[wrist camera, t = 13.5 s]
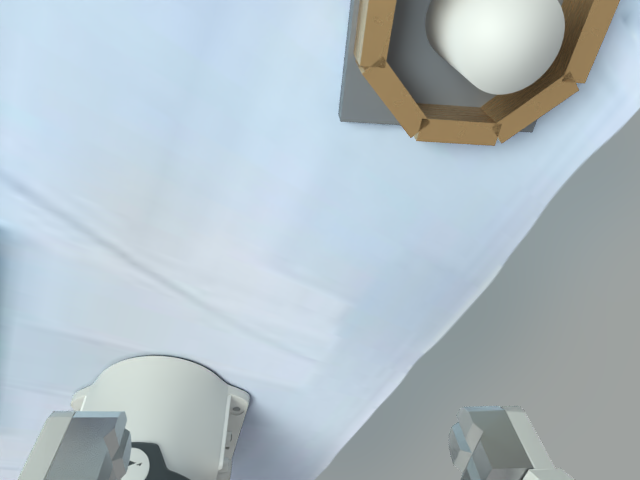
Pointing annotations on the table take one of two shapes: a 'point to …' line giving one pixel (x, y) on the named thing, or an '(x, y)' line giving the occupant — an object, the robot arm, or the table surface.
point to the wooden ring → (502, 110)
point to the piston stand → (456, 53)
